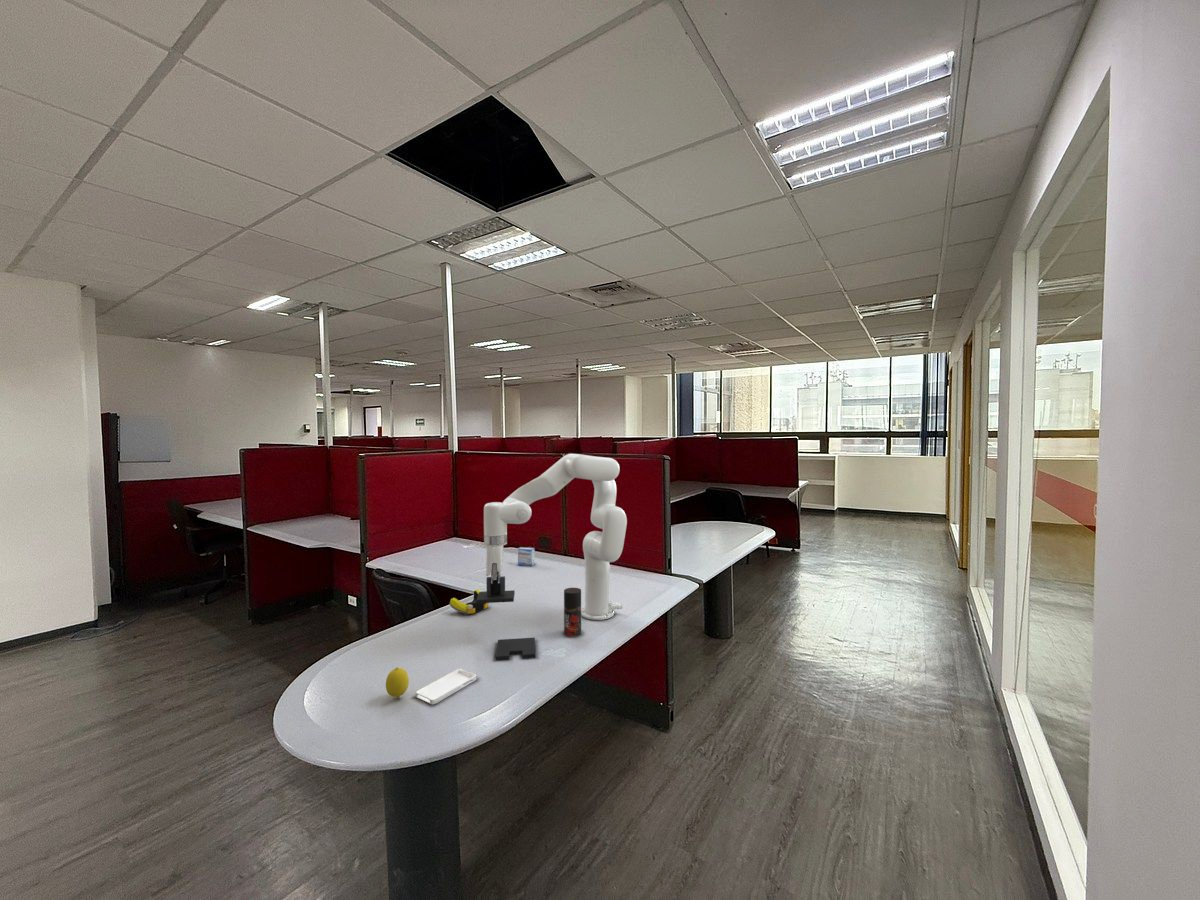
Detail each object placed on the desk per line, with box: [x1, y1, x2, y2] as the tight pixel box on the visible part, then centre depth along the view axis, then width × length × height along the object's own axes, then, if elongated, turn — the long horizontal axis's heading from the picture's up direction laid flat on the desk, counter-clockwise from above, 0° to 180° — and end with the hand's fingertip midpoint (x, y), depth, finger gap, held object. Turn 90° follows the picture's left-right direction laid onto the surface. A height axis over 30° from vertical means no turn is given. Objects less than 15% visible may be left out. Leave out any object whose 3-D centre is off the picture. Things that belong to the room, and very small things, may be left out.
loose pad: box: [476, 575, 516, 604], centre depth 162 cm, size 12×11×7 cm
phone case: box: [415, 668, 477, 706], centre depth 129 cm, size 7×1×15 cm
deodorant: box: [563, 587, 582, 638], centre depth 164 cm, size 6×6×15 cm
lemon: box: [385, 666, 410, 699], centre depth 124 cm, size 6×6×8 cm
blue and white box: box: [517, 546, 536, 567], centre depth 250 cm, size 8×4×9 cm, turn 80°
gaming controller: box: [449, 589, 490, 616], centre depth 187 cm, size 15×6×10 cm
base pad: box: [495, 637, 536, 661], centre depth 152 cm, size 12×12×1 cm
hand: (496, 593), depth 161 cm, fingers closed on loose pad
